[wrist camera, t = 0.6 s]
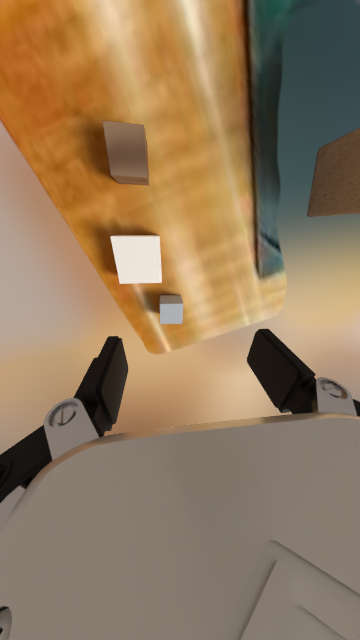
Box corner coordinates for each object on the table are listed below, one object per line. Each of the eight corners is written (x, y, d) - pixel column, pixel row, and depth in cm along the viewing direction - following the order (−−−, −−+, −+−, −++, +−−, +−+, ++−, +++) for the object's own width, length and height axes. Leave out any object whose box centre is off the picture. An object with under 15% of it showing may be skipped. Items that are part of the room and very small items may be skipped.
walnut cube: (113, 140, 23) (102, 120, 19) (146, 143, 24) (143, 124, 20) (119, 183, 26) (110, 175, 22) (149, 185, 26) (146, 177, 22)
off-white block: (117, 235, 30) (110, 236, 25) (159, 235, 30) (159, 236, 26) (125, 276, 34) (119, 283, 30) (161, 275, 35) (161, 282, 30)
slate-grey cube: (159, 295, 37) (159, 304, 32) (180, 294, 37) (183, 303, 33) (160, 313, 39) (160, 324, 35) (180, 313, 40) (182, 323, 35)
